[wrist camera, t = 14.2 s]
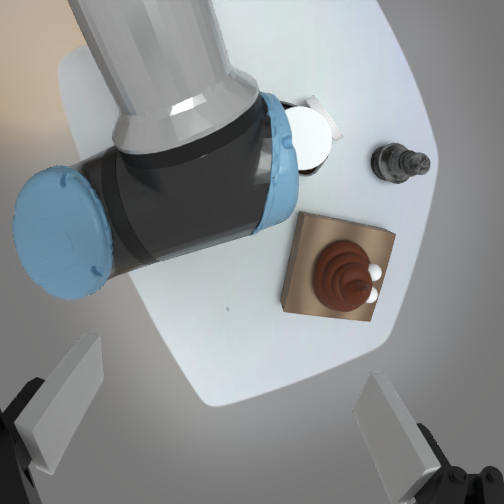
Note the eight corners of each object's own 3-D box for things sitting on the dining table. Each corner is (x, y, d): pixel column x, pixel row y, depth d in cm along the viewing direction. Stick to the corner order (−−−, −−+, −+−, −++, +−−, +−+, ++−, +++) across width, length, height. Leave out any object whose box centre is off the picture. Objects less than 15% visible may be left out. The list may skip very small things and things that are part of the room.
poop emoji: (315, 237, 41) (335, 256, 32) (372, 240, 42) (403, 258, 33) (307, 305, 44) (323, 338, 35) (362, 305, 44) (387, 335, 35)
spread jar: (233, 147, 41) (241, 148, 30) (269, 77, 38) (290, 56, 27) (308, 184, 44) (340, 199, 33) (341, 118, 41) (382, 113, 30)
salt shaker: (403, 181, 44) (448, 187, 32) (371, 183, 44) (410, 189, 32) (400, 143, 42) (444, 139, 31) (367, 145, 42) (405, 139, 31)
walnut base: (280, 300, 48) (283, 311, 44) (299, 211, 44) (305, 215, 41) (361, 310, 49) (370, 321, 45) (384, 228, 46) (395, 234, 42)
